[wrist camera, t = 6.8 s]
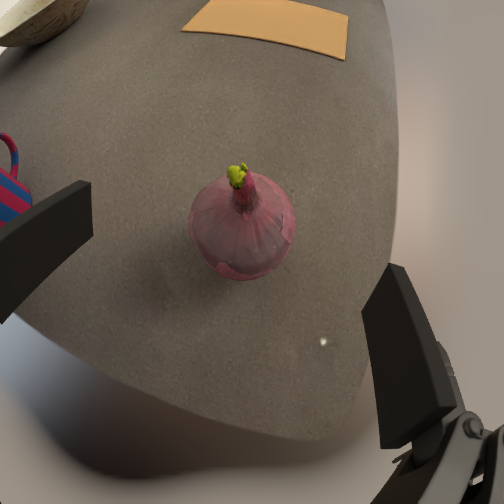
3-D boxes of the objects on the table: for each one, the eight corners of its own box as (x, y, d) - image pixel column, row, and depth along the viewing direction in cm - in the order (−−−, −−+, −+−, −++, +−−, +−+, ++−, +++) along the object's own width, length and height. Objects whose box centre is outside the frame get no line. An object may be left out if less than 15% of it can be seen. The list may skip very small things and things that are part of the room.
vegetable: (246, 186, 21) (252, 91, 11) (303, 247, 20) (357, 184, 10) (181, 237, 20) (136, 166, 10) (238, 304, 19) (237, 289, 9)
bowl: (13, 87, 24) (-15, 48, 14) (-1, 57, 27) (-19, 29, 17) (134, 2, 29) (123, -42, 19) (87, -7, 32) (77, -37, 22)
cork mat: (347, 17, 29) (348, 16, 28) (344, 61, 25) (344, 59, 25) (219, -7, 29) (219, -8, 29) (181, 31, 26) (181, 30, 26)
